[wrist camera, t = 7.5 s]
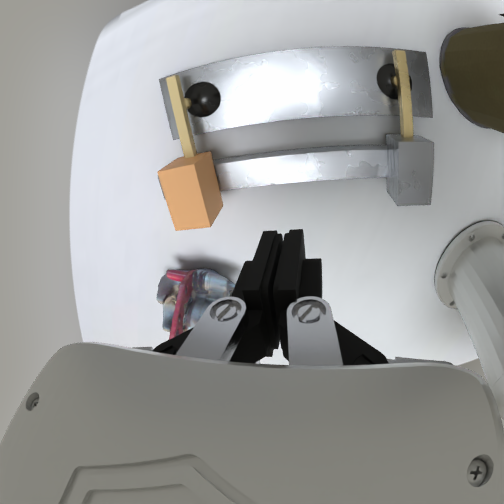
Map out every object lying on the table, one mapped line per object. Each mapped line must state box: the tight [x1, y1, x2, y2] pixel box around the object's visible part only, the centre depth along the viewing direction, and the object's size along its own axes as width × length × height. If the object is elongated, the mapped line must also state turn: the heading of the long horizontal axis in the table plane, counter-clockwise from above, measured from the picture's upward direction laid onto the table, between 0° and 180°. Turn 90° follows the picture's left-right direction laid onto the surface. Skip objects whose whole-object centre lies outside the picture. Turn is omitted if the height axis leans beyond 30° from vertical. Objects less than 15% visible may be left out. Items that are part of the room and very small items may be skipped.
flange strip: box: [159, 46, 433, 140], centre depth 19 cm, size 23×6×1 cm, turn 100°
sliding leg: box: [158, 75, 223, 231], centre depth 20 cm, size 3×12×5 cm, turn 10°
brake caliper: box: [157, 268, 235, 340], centre depth 30 cm, size 11×11×12 cm
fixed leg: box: [386, 50, 434, 206], centre depth 17 cm, size 3×12×4 cm, turn 10°
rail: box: [158, 145, 387, 198], centre depth 22 cm, size 24×2×2 cm, turn 100°
